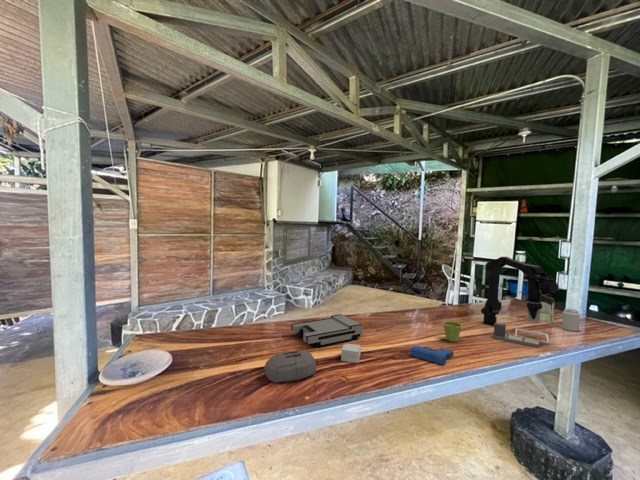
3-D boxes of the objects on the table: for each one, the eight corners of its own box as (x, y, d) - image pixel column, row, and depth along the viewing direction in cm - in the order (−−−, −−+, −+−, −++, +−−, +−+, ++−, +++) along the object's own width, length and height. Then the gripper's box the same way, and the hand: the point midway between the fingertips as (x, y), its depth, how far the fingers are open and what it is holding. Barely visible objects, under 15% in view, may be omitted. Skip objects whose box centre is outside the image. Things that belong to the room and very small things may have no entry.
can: (572, 328, 169) (572, 308, 168) (582, 332, 161) (583, 312, 161) (559, 327, 170) (559, 308, 169) (568, 331, 162) (569, 311, 162)
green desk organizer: (532, 316, 191) (532, 296, 190) (550, 319, 186) (551, 298, 186) (536, 321, 181) (537, 299, 181) (556, 323, 177) (557, 301, 177)
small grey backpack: (306, 361, 121) (260, 370, 112) (306, 342, 120) (260, 350, 112) (320, 378, 107) (269, 389, 99) (320, 357, 107) (269, 366, 98)
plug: (527, 320, 148) (527, 309, 148) (527, 318, 152) (527, 307, 152) (539, 322, 145) (539, 310, 145) (538, 320, 149) (539, 308, 149)
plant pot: (442, 342, 144) (443, 325, 144) (441, 335, 153) (442, 320, 153) (462, 344, 141) (463, 327, 141) (460, 338, 150) (460, 322, 150)
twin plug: (493, 335, 151) (494, 323, 151) (494, 332, 155) (495, 321, 155) (504, 337, 148) (505, 325, 148) (505, 334, 152) (505, 323, 152)
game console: (290, 336, 149) (291, 321, 149) (340, 327, 164) (341, 314, 164) (307, 351, 131) (307, 334, 131) (362, 340, 146) (362, 324, 146)
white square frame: (514, 337, 152) (514, 335, 152) (515, 329, 164) (515, 328, 164) (549, 343, 143) (549, 342, 143) (547, 335, 155) (547, 334, 155)
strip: (492, 338, 150) (492, 335, 150) (493, 333, 157) (494, 331, 157) (539, 348, 138) (539, 345, 138) (538, 342, 145) (538, 339, 145)
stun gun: (420, 340, 138) (410, 347, 127) (454, 348, 129) (446, 357, 117) (419, 349, 138) (409, 356, 126) (453, 357, 129) (446, 367, 117)
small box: (358, 363, 119) (358, 351, 119) (340, 361, 121) (341, 349, 121) (360, 355, 127) (360, 344, 127) (343, 353, 129) (343, 342, 129)
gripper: (555, 293, 136) (554, 325, 136) (551, 288, 151) (550, 316, 151) (527, 291, 142) (526, 321, 142) (526, 286, 157) (525, 313, 158)
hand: (533, 318), depth 148 cm, fingers closed on plug, 5 cm apart
